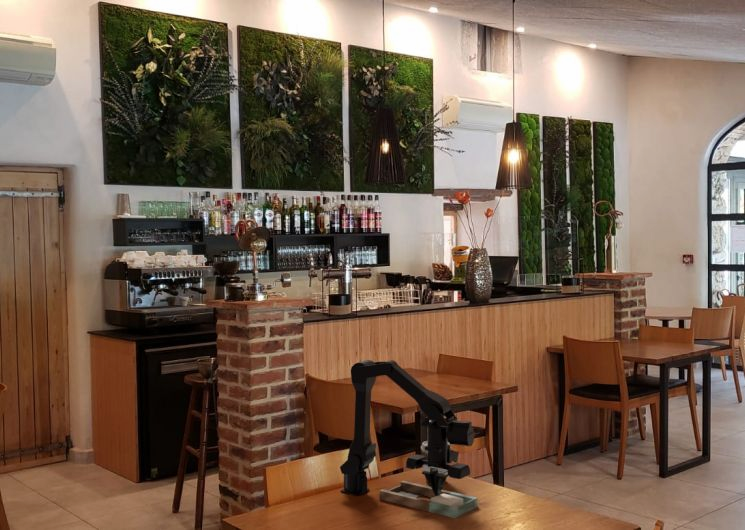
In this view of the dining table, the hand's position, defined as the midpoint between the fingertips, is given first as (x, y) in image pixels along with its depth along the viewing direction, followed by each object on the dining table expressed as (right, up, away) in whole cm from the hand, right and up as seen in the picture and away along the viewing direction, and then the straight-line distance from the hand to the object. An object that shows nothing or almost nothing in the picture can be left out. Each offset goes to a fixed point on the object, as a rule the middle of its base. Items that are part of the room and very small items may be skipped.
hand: (437, 495), depth 234 cm
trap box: (-3, -3, +2) cm, 4 cm away
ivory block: (+2, -3, -3) cm, 5 cm away
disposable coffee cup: (+1, -2, +22) cm, 22 cm away
